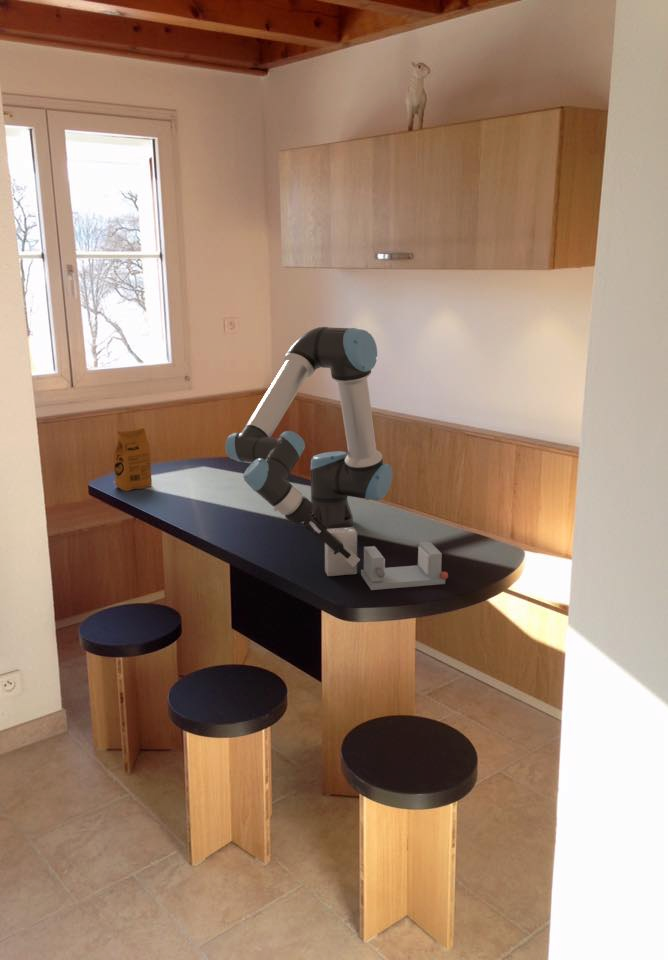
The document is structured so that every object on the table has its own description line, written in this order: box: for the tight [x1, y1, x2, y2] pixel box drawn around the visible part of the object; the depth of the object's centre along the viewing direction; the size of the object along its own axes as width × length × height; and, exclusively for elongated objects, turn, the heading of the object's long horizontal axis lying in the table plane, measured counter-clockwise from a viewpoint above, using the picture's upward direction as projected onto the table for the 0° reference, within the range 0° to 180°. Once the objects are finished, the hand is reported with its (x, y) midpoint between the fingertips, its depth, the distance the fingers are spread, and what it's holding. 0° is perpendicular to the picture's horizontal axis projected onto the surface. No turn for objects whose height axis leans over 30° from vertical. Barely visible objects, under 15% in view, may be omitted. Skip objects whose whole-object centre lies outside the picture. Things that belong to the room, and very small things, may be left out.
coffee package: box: [113, 426, 153, 492], centre depth 316 cm, size 10×12×22 cm
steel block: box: [324, 526, 358, 577], centre depth 231 cm, size 4×8×12 cm, turn 102°
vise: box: [360, 540, 449, 591], centre depth 226 cm, size 12×21×8 cm, turn 102°
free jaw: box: [363, 545, 386, 582], centre depth 223 cm, size 13×4×6 cm, turn 12°
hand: (354, 560), depth 232 cm, fingers closed on steel block, 4 cm apart
